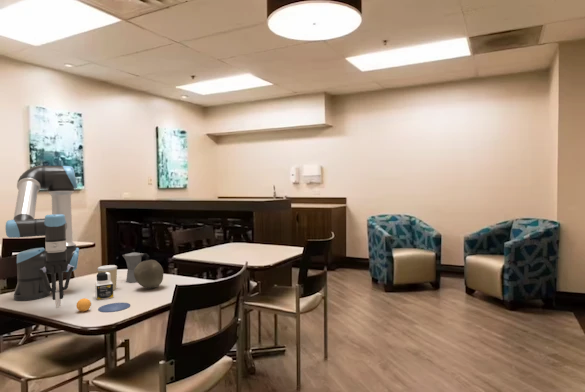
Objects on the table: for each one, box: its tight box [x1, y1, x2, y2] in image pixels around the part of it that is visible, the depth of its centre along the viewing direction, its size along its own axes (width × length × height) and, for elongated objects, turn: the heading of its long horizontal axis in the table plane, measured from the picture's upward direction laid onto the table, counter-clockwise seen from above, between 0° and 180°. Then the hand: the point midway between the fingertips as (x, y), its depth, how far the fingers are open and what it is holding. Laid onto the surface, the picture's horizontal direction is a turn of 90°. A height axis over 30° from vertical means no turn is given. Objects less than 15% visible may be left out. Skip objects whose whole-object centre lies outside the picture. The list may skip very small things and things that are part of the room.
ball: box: [76, 297, 92, 313], centre depth 171 cm, size 6×6×6 cm
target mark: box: [97, 302, 131, 313], centre depth 175 cm, size 13×13×1 cm
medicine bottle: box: [94, 272, 114, 301], centre depth 192 cm, size 7×7×12 cm
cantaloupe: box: [134, 259, 164, 290], centre depth 206 cm, size 14×14×15 cm
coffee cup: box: [97, 264, 118, 291], centre depth 206 cm, size 9×9×12 cm
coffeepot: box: [121, 248, 150, 284], centre depth 224 cm, size 15×9×18 cm, turn 88°
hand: (58, 307), depth 167 cm, fingers closed
